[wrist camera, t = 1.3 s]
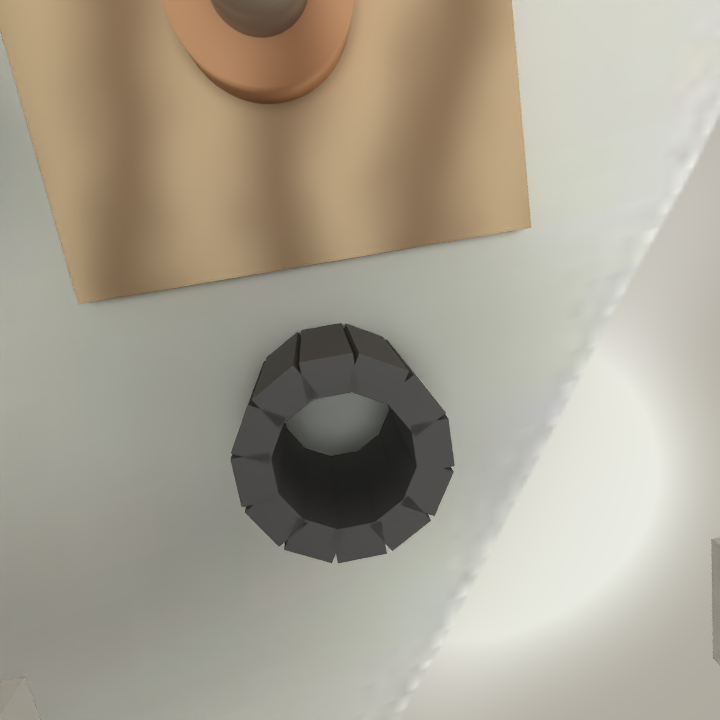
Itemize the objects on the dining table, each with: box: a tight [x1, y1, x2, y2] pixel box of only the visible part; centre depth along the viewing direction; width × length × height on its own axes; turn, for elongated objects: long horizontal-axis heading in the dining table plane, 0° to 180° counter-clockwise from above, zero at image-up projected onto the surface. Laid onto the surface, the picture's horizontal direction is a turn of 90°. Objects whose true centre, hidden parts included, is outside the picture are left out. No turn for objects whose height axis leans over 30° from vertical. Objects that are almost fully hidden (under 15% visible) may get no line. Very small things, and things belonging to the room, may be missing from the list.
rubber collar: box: [231, 323, 454, 563], centre depth 23 cm, size 8×8×7 cm
